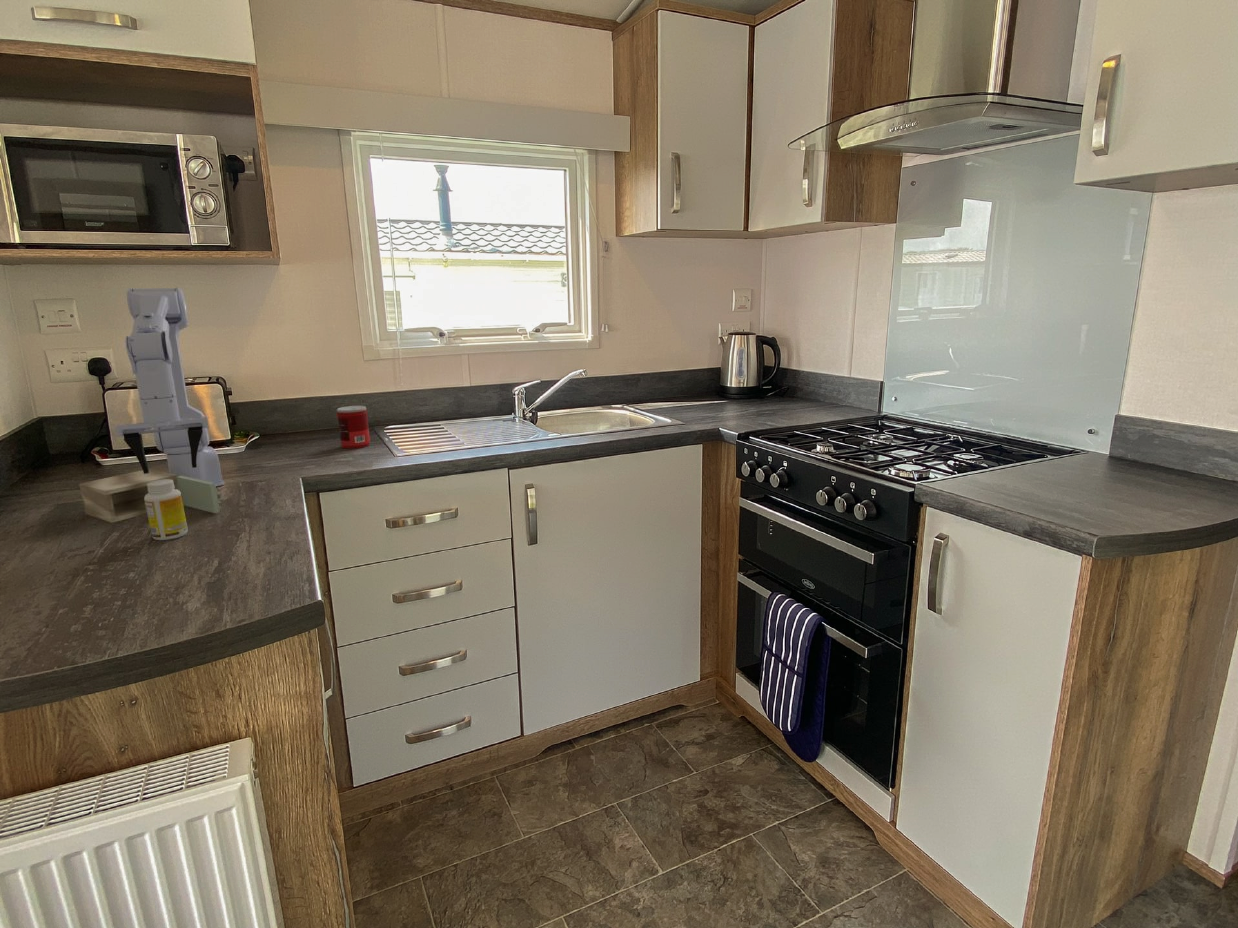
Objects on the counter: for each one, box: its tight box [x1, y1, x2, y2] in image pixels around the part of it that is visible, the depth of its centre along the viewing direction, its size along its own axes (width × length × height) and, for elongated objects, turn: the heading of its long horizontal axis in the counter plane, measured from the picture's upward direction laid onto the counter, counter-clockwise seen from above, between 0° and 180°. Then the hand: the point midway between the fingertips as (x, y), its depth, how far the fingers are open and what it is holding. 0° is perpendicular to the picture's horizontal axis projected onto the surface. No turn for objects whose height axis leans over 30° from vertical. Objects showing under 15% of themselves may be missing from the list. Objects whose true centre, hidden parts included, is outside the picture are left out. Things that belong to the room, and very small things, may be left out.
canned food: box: [336, 405, 371, 450], centre depth 194 cm, size 8×8×11 cm
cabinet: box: [79, 468, 179, 523], centre depth 140 cm, size 13×11×6 cm
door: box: [177, 476, 222, 514], centre depth 139 cm, size 12×2×6 cm, turn 59°
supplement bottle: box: [144, 479, 189, 541], centre depth 123 cm, size 6×6×10 cm
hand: (170, 469), depth 129 cm, fingers open, 7 cm apart
